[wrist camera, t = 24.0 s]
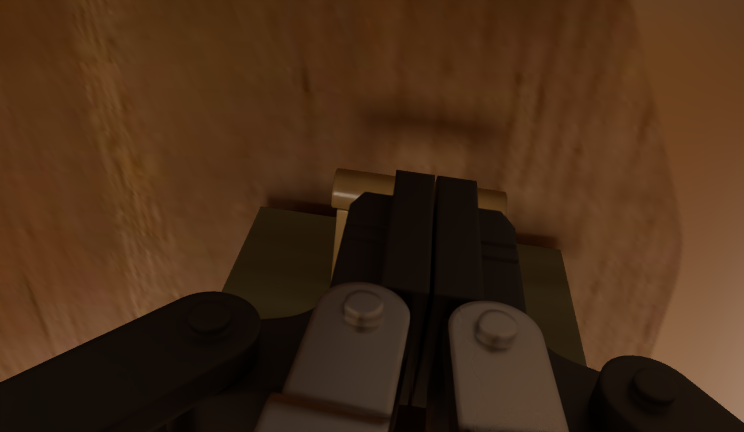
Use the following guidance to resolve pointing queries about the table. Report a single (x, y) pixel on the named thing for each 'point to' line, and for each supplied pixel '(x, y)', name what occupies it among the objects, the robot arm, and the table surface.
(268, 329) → the robot arm
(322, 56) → the table surface
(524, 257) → the drawer
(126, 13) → the table surface
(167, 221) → the table surface
